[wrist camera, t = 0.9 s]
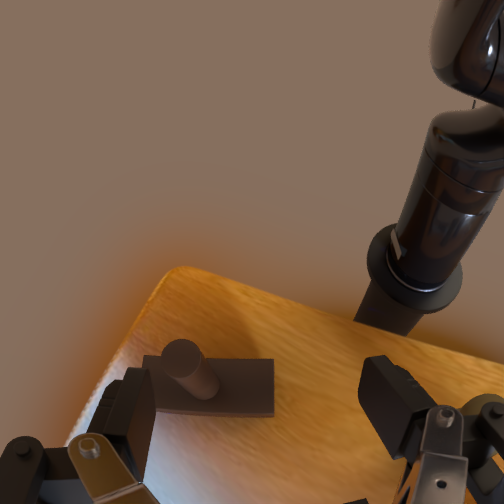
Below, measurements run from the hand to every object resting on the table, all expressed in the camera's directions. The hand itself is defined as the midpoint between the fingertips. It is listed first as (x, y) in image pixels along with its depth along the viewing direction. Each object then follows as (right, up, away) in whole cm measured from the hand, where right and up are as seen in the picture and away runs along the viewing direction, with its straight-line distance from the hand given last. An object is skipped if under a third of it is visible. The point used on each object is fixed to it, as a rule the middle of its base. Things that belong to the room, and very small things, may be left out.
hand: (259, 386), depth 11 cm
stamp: (-4, -9, +18) cm, 20 cm away
